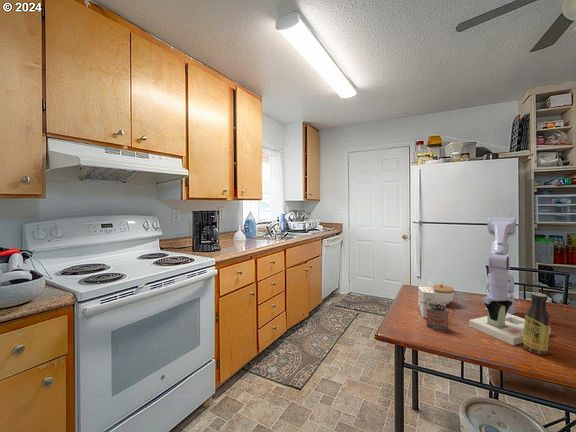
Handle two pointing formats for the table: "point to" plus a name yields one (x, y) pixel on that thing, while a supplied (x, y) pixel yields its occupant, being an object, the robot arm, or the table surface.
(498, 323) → the peg
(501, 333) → the slot board
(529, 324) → the sauce bottle
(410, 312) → the table surface
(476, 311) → the table surface
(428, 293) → the ink cartridge box
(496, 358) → the table surface
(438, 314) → the lighter
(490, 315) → the robot arm
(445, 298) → the lidded jar
